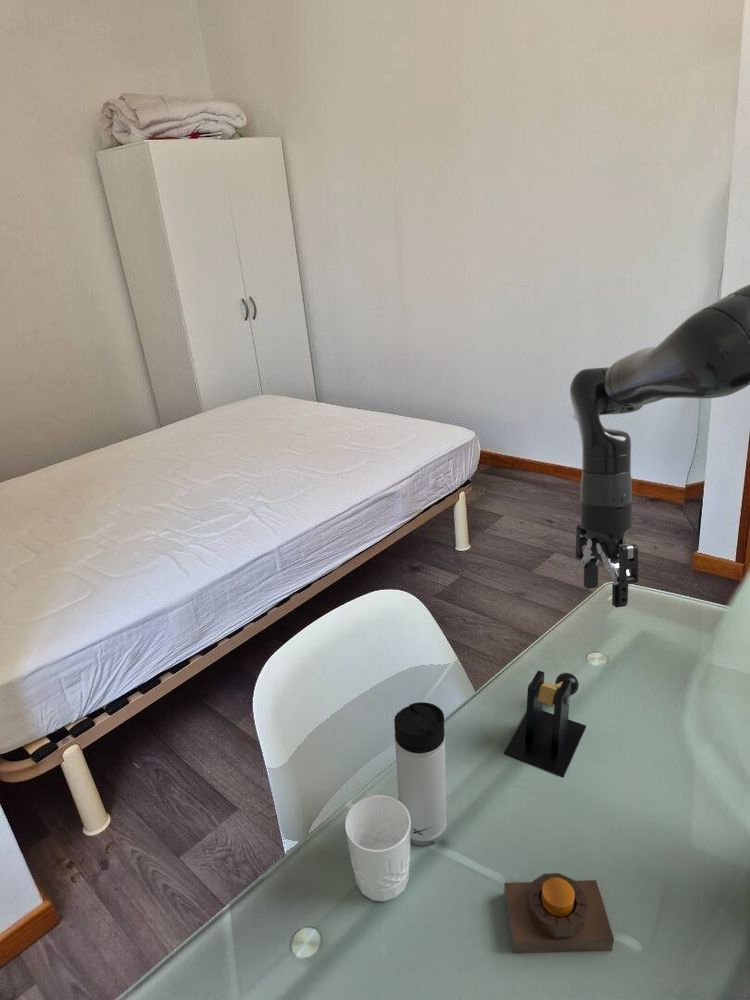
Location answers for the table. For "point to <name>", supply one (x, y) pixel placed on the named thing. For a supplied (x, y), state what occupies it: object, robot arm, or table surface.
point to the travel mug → (422, 770)
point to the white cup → (379, 846)
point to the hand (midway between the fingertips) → (604, 596)
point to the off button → (558, 897)
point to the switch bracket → (546, 731)
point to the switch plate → (557, 919)
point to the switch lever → (556, 688)
